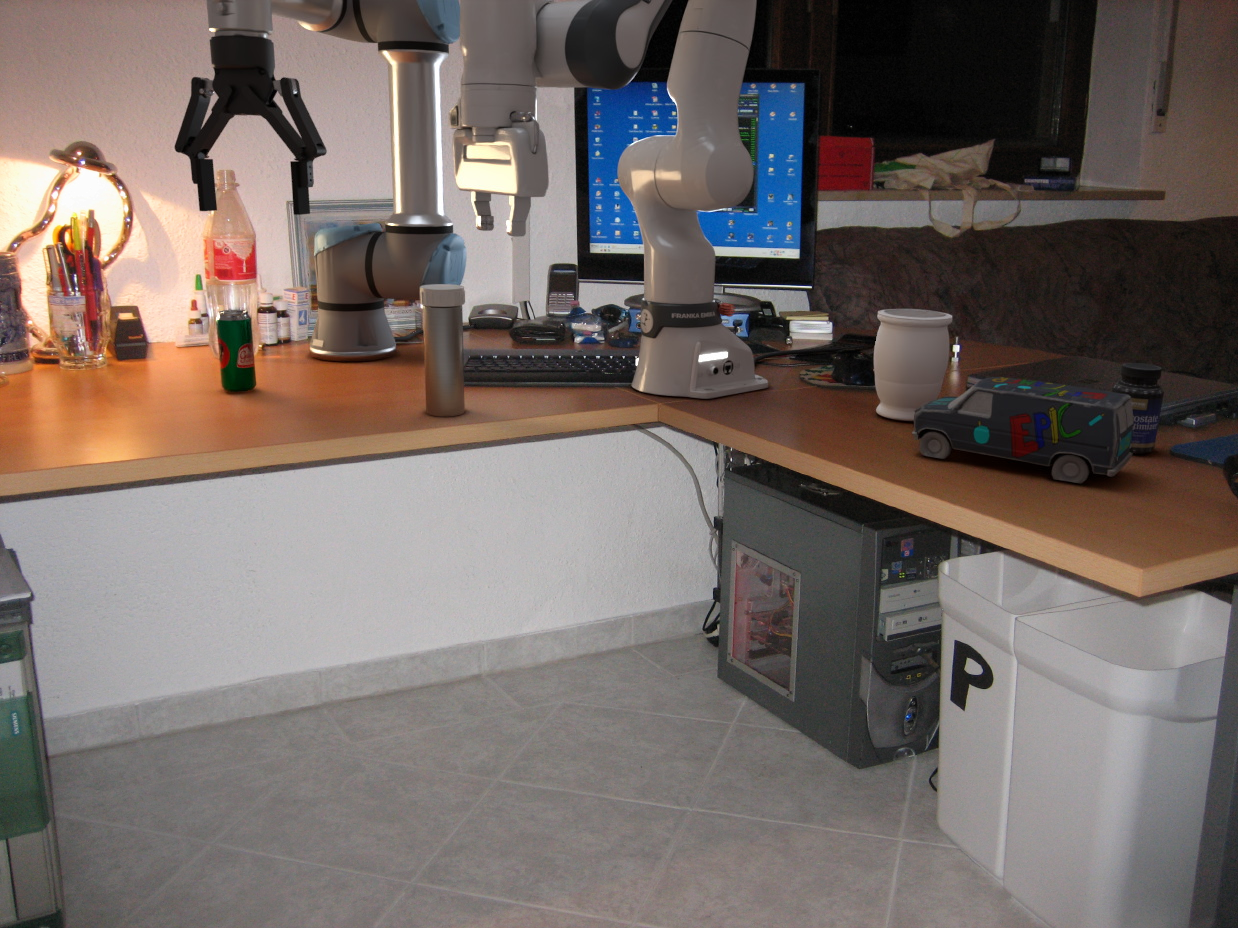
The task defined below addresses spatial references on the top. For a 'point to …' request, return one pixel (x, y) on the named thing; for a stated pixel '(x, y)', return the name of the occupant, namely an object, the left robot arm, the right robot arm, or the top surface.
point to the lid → (442, 295)
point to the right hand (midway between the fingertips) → (500, 233)
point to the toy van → (1032, 426)
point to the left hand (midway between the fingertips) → (254, 213)
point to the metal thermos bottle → (444, 360)
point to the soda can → (236, 350)
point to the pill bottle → (1142, 402)
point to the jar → (910, 360)
